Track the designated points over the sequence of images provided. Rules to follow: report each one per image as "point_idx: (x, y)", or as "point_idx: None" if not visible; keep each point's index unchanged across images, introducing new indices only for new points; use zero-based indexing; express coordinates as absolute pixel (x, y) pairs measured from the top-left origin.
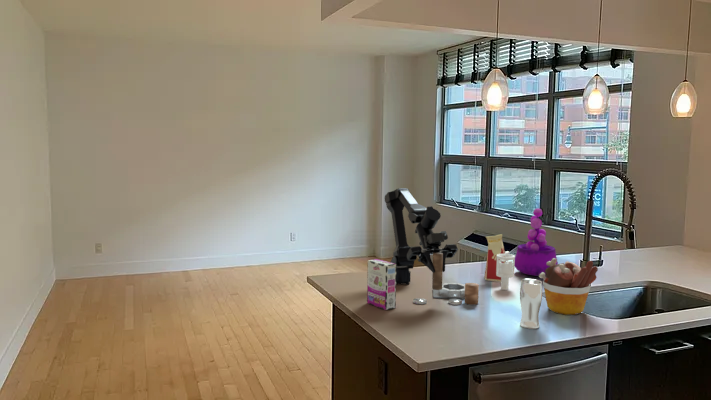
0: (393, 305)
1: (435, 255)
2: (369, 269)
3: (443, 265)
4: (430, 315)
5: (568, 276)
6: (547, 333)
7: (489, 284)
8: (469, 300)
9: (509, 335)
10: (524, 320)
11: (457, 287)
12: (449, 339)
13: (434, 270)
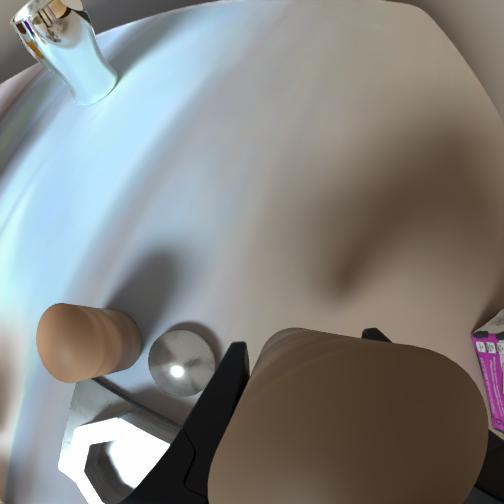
0: (486, 326)
1: (460, 378)
2: None
3: (232, 386)
4: (366, 215)
5: None
6: (102, 52)
7: (9, 484)
8: (123, 319)
9: (188, 37)
10: (108, 65)
11: (108, 496)
12: (353, 39)
13: (373, 331)
